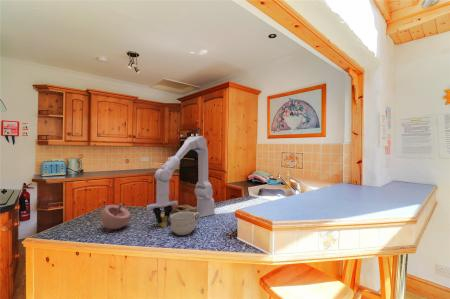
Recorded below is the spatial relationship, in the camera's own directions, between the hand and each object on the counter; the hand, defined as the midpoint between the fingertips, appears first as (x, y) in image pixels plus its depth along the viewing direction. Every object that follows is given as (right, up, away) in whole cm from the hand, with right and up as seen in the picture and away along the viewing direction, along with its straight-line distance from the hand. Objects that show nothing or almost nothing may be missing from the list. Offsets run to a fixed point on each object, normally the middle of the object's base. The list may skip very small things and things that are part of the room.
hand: (162, 222), depth 98 cm
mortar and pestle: (-20, -1, -4) cm, 20 cm away
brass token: (0, -2, 0) cm, 2 cm away
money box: (+8, -2, +7) cm, 11 cm away
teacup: (+13, -2, -7) cm, 15 cm away
